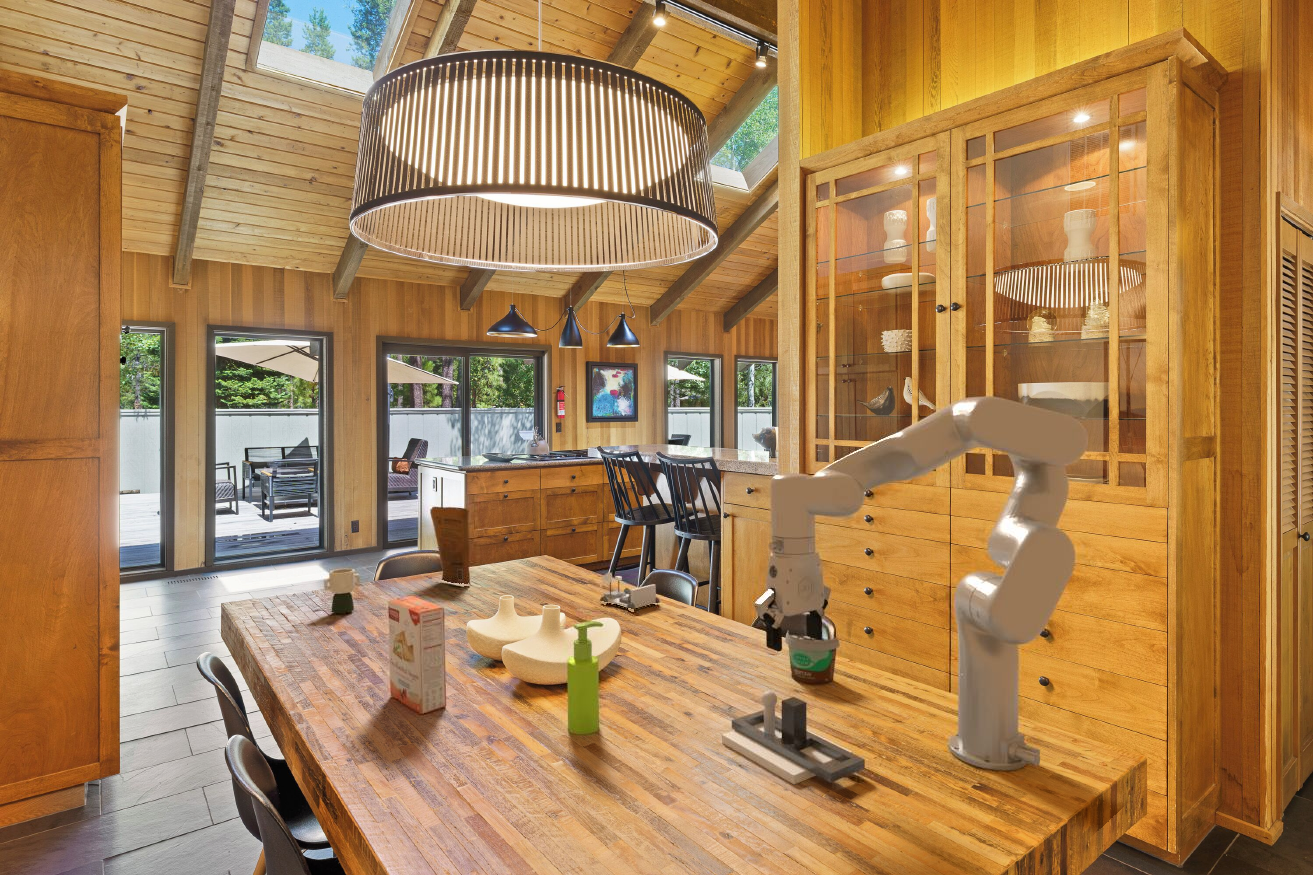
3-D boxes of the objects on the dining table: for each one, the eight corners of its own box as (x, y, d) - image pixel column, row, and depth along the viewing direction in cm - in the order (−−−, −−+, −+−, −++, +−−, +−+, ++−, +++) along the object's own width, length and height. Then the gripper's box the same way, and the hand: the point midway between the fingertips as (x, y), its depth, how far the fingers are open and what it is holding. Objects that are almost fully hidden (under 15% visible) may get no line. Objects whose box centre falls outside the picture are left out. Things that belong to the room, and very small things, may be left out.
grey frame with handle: (864, 768, 116) (864, 719, 116) (830, 782, 111) (830, 732, 111) (763, 717, 136) (763, 676, 136) (731, 728, 131) (731, 685, 131)
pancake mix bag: (462, 589, 245) (461, 509, 245) (429, 582, 257) (428, 505, 256) (478, 586, 251) (477, 507, 250) (445, 579, 262) (444, 503, 262)
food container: (777, 681, 159) (777, 636, 158) (786, 672, 164) (786, 629, 164) (833, 690, 153) (833, 644, 153) (839, 681, 158) (839, 636, 158)
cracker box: (388, 697, 151) (386, 599, 150) (415, 689, 155) (413, 594, 155) (419, 716, 141) (417, 611, 141) (447, 707, 145) (445, 606, 145)
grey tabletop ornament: (594, 573, 227) (620, 567, 236) (594, 603, 228) (620, 597, 236) (633, 581, 215) (659, 575, 223) (633, 614, 215) (659, 606, 223)
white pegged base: (852, 760, 122) (852, 705, 122) (793, 784, 114) (793, 726, 114) (778, 723, 137) (778, 674, 136) (721, 742, 129) (721, 691, 128)
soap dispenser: (609, 728, 135) (608, 624, 134) (575, 737, 131) (574, 630, 131) (596, 717, 140) (595, 616, 139) (563, 725, 136) (562, 622, 136)
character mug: (354, 607, 224) (354, 566, 223) (365, 611, 219) (364, 569, 219) (319, 614, 216) (318, 572, 215) (330, 618, 211) (329, 575, 210)
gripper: (771, 554, 115) (773, 659, 115) (844, 542, 124) (845, 639, 125) (740, 548, 121) (742, 648, 121) (812, 537, 131) (813, 629, 131)
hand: (794, 643), depth 123 cm, fingers open, 9 cm apart
